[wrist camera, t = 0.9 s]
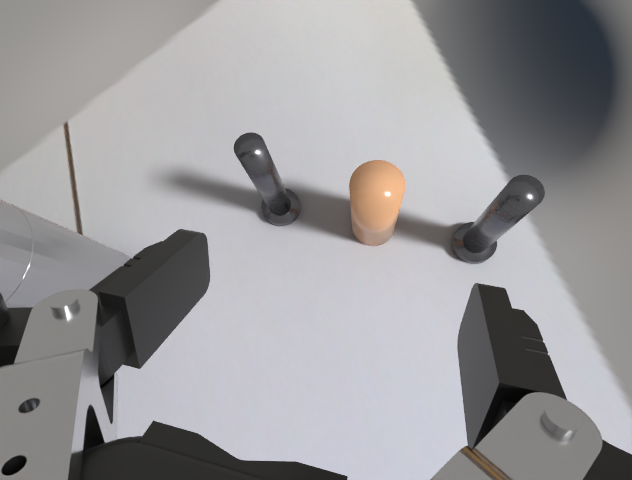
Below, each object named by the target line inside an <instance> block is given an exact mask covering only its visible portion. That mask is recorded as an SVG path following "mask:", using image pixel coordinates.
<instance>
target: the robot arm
mask: <svg viewBox="0 0 632 480" xmlns="http://www.w3.org/2000/svg"><path fill="white" fill-rule="evenodd" d="M209 282H210V268H209V256H208V243H207V237H206V235H205V234H204V233H200V232H195V231H189V230H183V229H179V230H177V231H176V232H175V233H173V234H172V235H171V236H169V237H168V238H167V239H166V240H164V241H161V242H159V243H156V244H154V245H151V246H149V247H146V248H144V249H143V250H142V251H140V252H139V253H138V254H136V255H135V256H134V257H133V259H132V258H131V259H130V258H129V257H127V256H126V255H125V254H123V253H121V252H119V251H116V250H114V249H112V248H110V247H107V246H105V245H103V244H101V243H99V242H96V241H94V240H92V239H90V238H87V237H85V236H83V235H80V234H78V233H76V232H74V231H71V230H69V229H67V228H64V227H62V226H60V225H58V224H55V223H53V222H51V221H48V220H46V219H44V218H42V217H39V216H37V215H35V214H32V213H30V212H28V211H26V210H23V209H21V208H19V207H16V206H14V205H12V204H9V203H7V202H4V201H2V200H0V480H347V477H348V476H344V475H341V474H337V473H334V472H330V471H327V470H323V469H320V468H316V467H313V466H309V465H306V464H302V463H299V462H285V461H244V460H239V459H237V458H235V457H234V456H232V455H230V454H229V453H227V452H226V451H224V450H223V449H221V448H220V447H218V446H216V445H215V444H213V443H212V442H210V441H209V440H207V439H205V438H204V437H202V436H201V435H199V434H198V433H194V432H191V431H187V430H184V429H180V428H177V427H173V426H170V425H166V424H163V423H159V422H156V421H153V422H152V424H151V425H150V426H149V428H148V429H147V431H146V432H145V433H144V435H143V436H137V437H127V438H122V439H117V411H118V375H117V372H116V371H117V370H118V369H119V368H120V367H121V366H122V365H127V366H131V367H135V368H138V369H140V368H141V367H142V366H143V365H144V364H145V363H146V361H147V360H148V359H149V358H150V357H151V356H152V354H153V353H154V352H155V351H156V350H157V349H158V348H159V346H160V345H161V344H162V343H163V342H164V341H165V339H166V338H167V337H168V336H169V335H170V334H171V332H172V331H173V330H174V329H175V328H176V327H177V326H178V324H179V323H180V322H181V321H182V320H183V319H184V317H185V316H186V315H187V314H188V313H189V312H190V311H191V309H192V308H193V307H194V306H195V305H196V304H197V302H198V301H199V300H200V299H201V298H202V297H203V295H204V294H205V293H206V291H207V289H208V286H209ZM458 358H459V367H460V376H461V385H462V395H463V404H464V413H465V422H466V431H467V441H468V446H465V447H463V448H462V449H461V450H459V451H458V452H457V453H456V454H455V455H454V456H453V457H452V458H451V459H450V460H449V461H448V462H447V463H446V464H445V465H444V466H443V467H442V468H441V469H440V470H439V471H438V472H437V473H436V474H435V475H434V476H433V477H432V478H431V479H430V480H632V455H631V454H629V453H627V452H625V451H623V450H621V449H619V448H617V447H615V446H613V445H611V444H609V443H607V442H606V441H604V440H602V437H601V434H600V432H599V430H598V428H597V426H596V425H595V423H594V422H593V421H592V420H591V418H590V417H589V416H588V415H587V414H586V413H584V412H583V411H582V410H581V409H580V408H578V407H577V406H575V405H574V404H572V403H571V402H569V401H567V399H566V396H565V394H564V391H563V389H562V386H561V384H560V381H559V379H558V376H557V374H556V371H555V369H554V366H553V364H552V361H551V358H550V356H549V355H548V351H547V348H546V346H545V343H543V338H542V336H541V333H540V331H539V328H538V326H537V324H536V323H535V322H534V321H533V320H532V319H531V318H530V317H529V316H528V315H527V314H526V313H525V311H524V310H518V309H513V308H512V307H511V304H510V301H509V298H508V294H507V291H506V289H505V288H501V287H495V286H490V285H484V284H478V283H475V284H474V286H473V288H472V290H471V293H470V297H469V300H468V303H467V306H466V309H465V313H464V316H463V319H462V322H461V326H460V329H459V335H458Z"/></svg>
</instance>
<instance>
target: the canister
mask: <svg viewBox="0 0 632 480" xmlns="http://www.w3.org/2000/svg"><path fill="white" fill-rule="evenodd" d="M349 187H350V203H351V219H352V230H353V233H354V235H355V237H356V238H357V239H358V240H359V241H360V242H361V243H363V244H365V245H369V246H378V245H381V244H384V243H385V242H387V241H388V240H389V239H390V238H391V236H392V235H393V233H394V229H395V225H396V221H397V218H398V214H399V210H400V206H401V203H402V199H403V195H404V191H405V179H404V176H403V174H402V173H401V171H400V170H399V169H398V168H397V167H396V166H395V165H393V164H391V163H389V162H386V161H382V160H373V161H369V162H366V163H364V164H362V165H360V166H359V167H358V168H357V169H356V170H355V171H354V173H353V174H352V176H351V179H350V185H349Z"/></svg>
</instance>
